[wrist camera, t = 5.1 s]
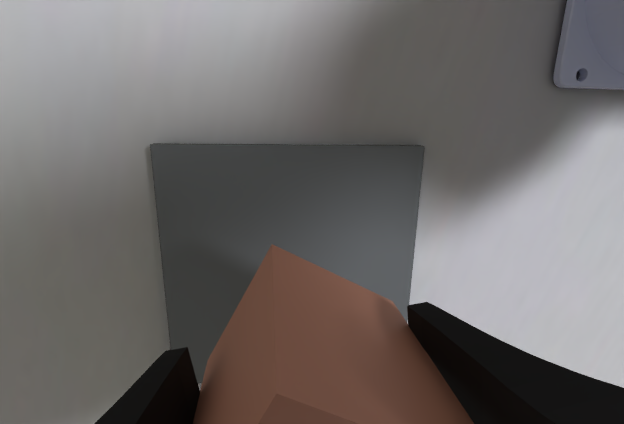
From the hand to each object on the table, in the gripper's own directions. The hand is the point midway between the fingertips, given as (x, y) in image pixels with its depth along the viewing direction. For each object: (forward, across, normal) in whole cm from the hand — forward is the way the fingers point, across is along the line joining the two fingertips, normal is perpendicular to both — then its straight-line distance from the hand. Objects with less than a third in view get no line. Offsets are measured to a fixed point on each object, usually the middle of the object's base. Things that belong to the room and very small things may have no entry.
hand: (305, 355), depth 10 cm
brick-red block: (+1, 0, 0) cm, 1 cm away
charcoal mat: (+6, 0, 0) cm, 6 cm away
